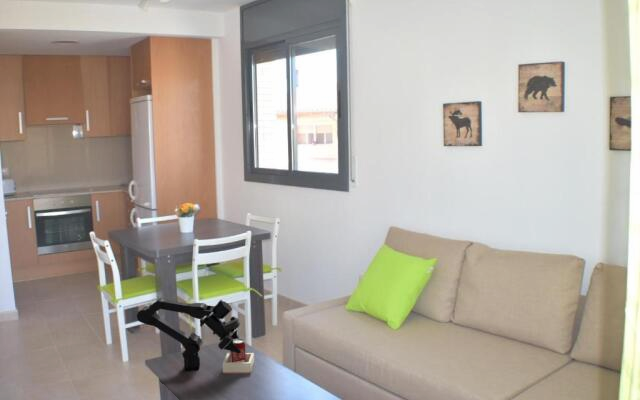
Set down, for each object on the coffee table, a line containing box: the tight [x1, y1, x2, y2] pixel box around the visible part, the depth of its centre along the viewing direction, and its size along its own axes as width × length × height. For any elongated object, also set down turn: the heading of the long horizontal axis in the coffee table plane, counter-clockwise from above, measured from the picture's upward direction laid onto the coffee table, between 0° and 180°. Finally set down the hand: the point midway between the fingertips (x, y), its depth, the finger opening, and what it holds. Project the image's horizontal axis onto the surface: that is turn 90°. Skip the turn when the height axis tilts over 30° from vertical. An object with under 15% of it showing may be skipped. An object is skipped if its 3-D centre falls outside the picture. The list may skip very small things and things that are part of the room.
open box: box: [222, 352, 255, 374], centre depth 265 cm, size 12×12×4 cm
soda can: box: [229, 338, 247, 362], centre depth 264 cm, size 7×7×12 cm
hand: (241, 349), depth 264 cm, fingers open, 8 cm apart
